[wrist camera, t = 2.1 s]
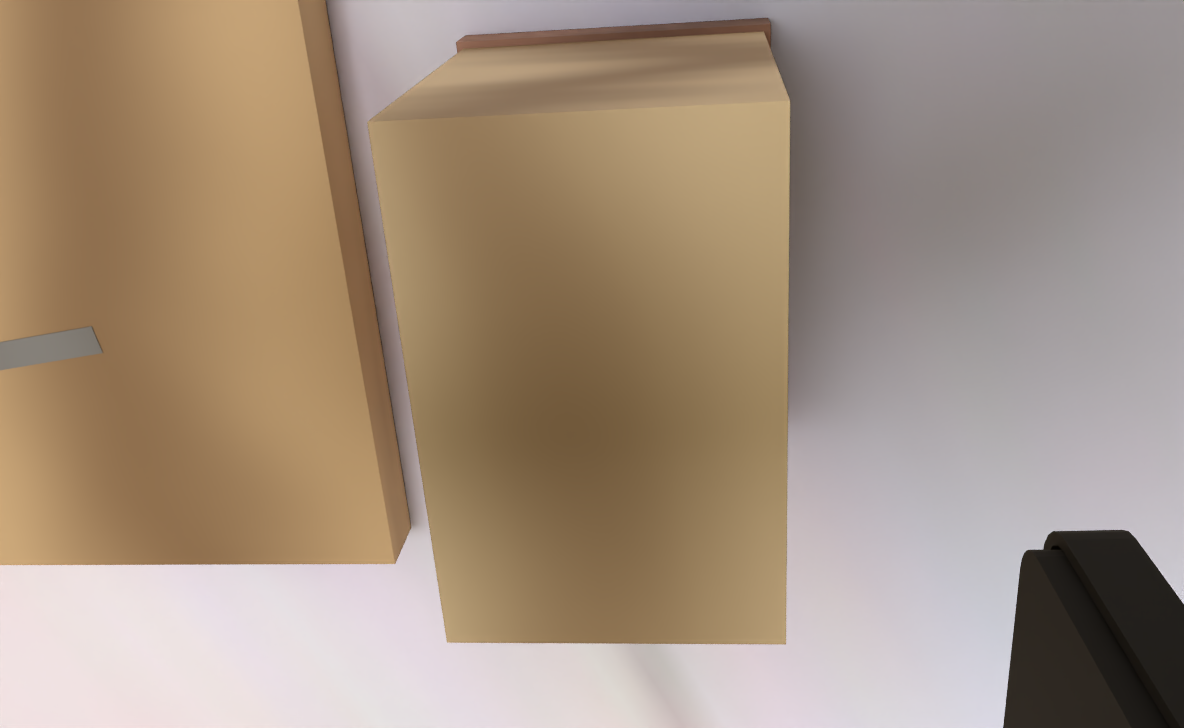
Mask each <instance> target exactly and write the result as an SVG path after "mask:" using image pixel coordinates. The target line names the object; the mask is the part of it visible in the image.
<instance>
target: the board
mask: <svg viewBox="0 0 1184 728" xmlns="http://www.w3.org/2000/svg"><path fill="white" fill-rule="evenodd" d="M410 529H411V524H410V518H409V512H408V506H407V499H406V493H405V487H404V481H403V475H402V469H401V463H400V456H399V450H398V444H397V438H396V432H395V426H394V420H393V413H392V407H391V401H390V395H389V389H388V383H387V377H386V370H385V364H384V358H383V352H382V346H381V340H380V334H379V327H378V321H377V315H376V309H375V303H374V297H373V291H372V284H371V278H370V272H369V266H368V260H367V254H366V248H365V241H364V235H363V229H362V223H361V217H360V211H359V205H358V198H357V192H356V186H355V180H354V174H353V168H352V162H351V155H350V149H349V143H348V137H347V131H346V125H345V119H344V112H343V106H342V100H341V94H340V88H339V82H338V76H337V69H336V63H335V57H334V51H333V45H332V39H331V33H330V26H329V20H328V14H327V8H326V2H325V0H0V565H165V564H395V563H396V561H397V558H398V556H399V554H400V552H401V549H402V547H403V545H404V543H405V540H406V538H407V536H408V533H409V531H410Z"/></svg>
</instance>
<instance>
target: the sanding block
mask: <svg viewBox="0 0 1184 728" xmlns="http://www.w3.org/2000/svg"><path fill="white" fill-rule="evenodd" d="M456 45H457V54H456V55H454V56H453V57H452V58H450V59H449V60H448V61H447V62H445V63H444V64H443V65H441V66H440V67H439V68H437V69H436V70H435V71H433V72H432V73H431V74H429V75H428V76H427V77H426V78H424V79H423V80H422V81H420V82H419V83H418V84H416V85H415V86H414V87H412V88H411V89H410V90H408V91H407V92H406V93H405V94H403V95H402V96H401V97H399V98H398V99H397V100H395V101H394V102H393V103H391V104H390V105H389V106H387V107H386V108H385V109H384V110H382V111H381V112H380V113H378V114H377V115H376V116H374V117H373V118H372V119H370V120H369V121H368V122H367V124H368V130H369V137H370V143H371V150H372V156H373V163H374V169H375V176H376V182H377V189H378V195H379V202H380V208H381V215H382V221H383V228H384V234H385V241H386V247H387V254H388V261H389V267H390V274H391V280H392V287H393V293H394V300H395V306H396V313H397V319H398V326H399V332H400V339H401V345H402V352H403V358H404V365H405V371H406V378H407V384H408V391H409V397H410V404H411V410H412V417H413V423H414V430H415V436H416V443H417V449H418V456H419V463H420V469H421V476H422V482H423V489H424V495H425V502H426V508H427V515H428V521H429V528H430V534H431V541H432V547H433V554H434V560H435V567H436V573H437V580H438V586H439V593H440V599H441V606H442V612H443V619H444V625H445V632H446V638H447V642H453V643H638V644H786V564H787V437H788V310H789V184H790V99H789V96H788V94H787V91H786V89H785V86H784V83H783V81H782V78H781V75H780V73H779V70H778V68H777V65H776V62H775V60H774V57H773V54H772V52H771V24H770V21H769V19H768V18H756V19H739V20H722V21H705V22H688V23H671V24H654V25H637V26H620V27H603V28H586V29H569V30H552V31H535V32H518V33H500V34H483V35H466V36H464V37H463V38H461V39H460V40H459V41H457V42H456Z"/></svg>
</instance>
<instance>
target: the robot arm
mask: <svg viewBox="0 0 1184 728" xmlns="http://www.w3.org/2000/svg"><path fill="white" fill-rule="evenodd" d="M1003 728H1184V604H1183V603H1182V601H1181V600H1180V599H1179V597H1178V596H1177V595H1176V593H1175V592H1174V590H1173V589H1172V588H1171V586H1170V585H1169V584H1168V582H1167V581H1166V579H1165V578H1164V577H1163V575H1162V574H1161V573H1160V571H1159V570H1158V568H1157V567H1156V566H1155V564H1154V563H1153V562H1152V560H1151V559H1150V557H1149V556H1148V555H1147V553H1146V552H1145V551H1144V549H1143V548H1142V547H1141V545H1140V544H1139V542H1138V541H1137V540H1136V538H1135V537H1134V536H1133V535H1132V534H1131V533H1130V532H1129V531H1124V530H1097V531H1053V532H1052V533H1051V534H1049V535H1048V537H1047V539H1046V541H1045V544H1044V549H1043V550H1028V551H1026V552H1025V553H1024V555H1023V558H1022V562H1021V567H1020V576H1019V585H1018V595H1017V604H1016V614H1015V623H1014V632H1013V642H1012V651H1011V661H1010V670H1009V679H1008V689H1007V698H1006V707H1005V717H1004V726H1003Z"/></svg>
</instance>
